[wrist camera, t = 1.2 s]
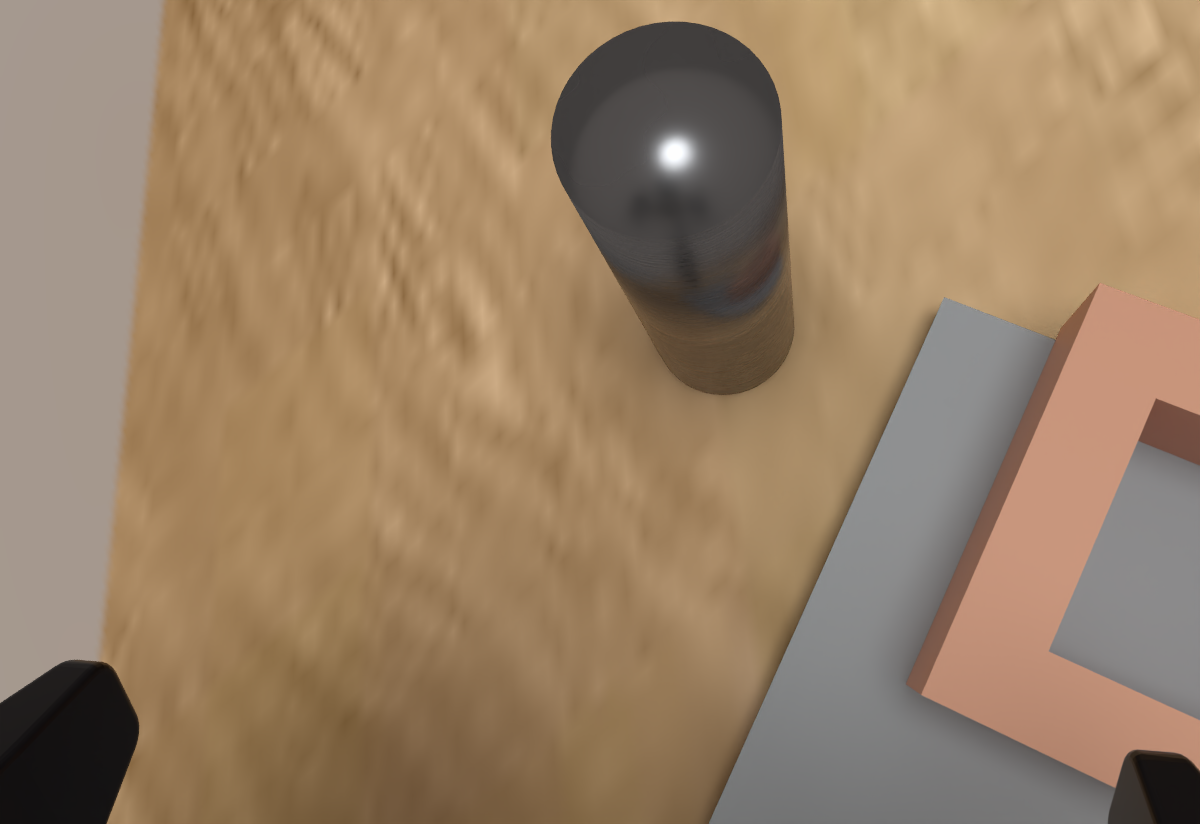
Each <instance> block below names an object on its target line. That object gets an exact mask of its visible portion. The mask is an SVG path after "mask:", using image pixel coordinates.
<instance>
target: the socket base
mask: <svg viewBox="0 0 1200 824" xmlns="http://www.w3.org/2000/svg"><path fill="white" fill-rule="evenodd" d="M1137 749H1139V750H1151V751H1163V752H1174V753H1178V754H1182V755H1183V756H1185V757H1187V758H1188V759H1189V760H1191V761H1192V762H1193V763H1194V764H1195V766H1196V767H1197V768H1198V769H1199V770H1200V320H1199V319H1197V318H1194V317H1191V316H1189V315H1186V314H1183V313H1180V312H1178V311H1175V310H1172V309H1169V308H1167V307H1164V306H1161V305H1159V304H1156V303H1153V302H1150V301H1148V300H1145V299H1142V298H1140V297H1137V296H1134V295H1131V294H1129V293H1126V292H1123V291H1120V290H1118V289H1115V288H1112V287H1110V286H1107V285H1104V284H1101V283H1100V284H1099V285H1098V286H1097V287H1096V288H1095V289H1094V290H1093V292H1092V293H1091V294H1090V295H1089V296H1088V297H1087V299H1086V300H1085V301H1084V302H1083V303H1082V304H1081V306H1080V307H1079V308H1078V309H1077V310H1076V311H1075V313H1074V314H1073V315H1072V316H1071V317H1070V318H1069V319H1068V321H1067V322H1066V323H1065V324H1064V325H1063V326H1062V328H1061V329H1060V331H1059V334H1058V336H1057V338H1056V340H1054V339H1052V338H1049V337H1046V336H1044V335H1041V334H1039V333H1036V332H1033V331H1031V330H1028V329H1026V328H1023V327H1020V326H1018V325H1015V324H1013V323H1010V322H1007V321H1005V320H1002V319H1000V318H997V317H994V316H992V315H989V314H986V313H984V312H981V311H979V310H976V309H973V308H971V307H968V306H966V305H963V304H960V303H958V302H955V301H953V300H950V299H947V298H945V297H944V299H943V301H942V303H941V306H940V308H939V310H938V312H937V315H936V317H935V319H934V321H933V324H932V326H931V328H930V330H929V332H928V335H927V337H926V339H925V341H924V344H923V346H922V348H921V350H920V353H919V355H918V357H917V359H916V362H915V364H914V366H913V368H912V370H911V373H910V375H909V377H908V379H907V382H906V384H905V386H904V388H903V391H902V393H901V395H900V397H899V399H898V402H897V404H896V406H895V408H894V411H893V413H892V415H891V417H890V420H889V422H888V424H887V426H886V429H885V431H884V433H883V435H882V437H881V440H880V442H879V444H878V446H877V449H876V451H875V453H874V455H873V458H872V460H871V462H870V464H869V467H868V469H867V471H866V473H865V475H864V478H863V480H862V482H861V484H860V487H859V489H858V491H857V493H856V496H855V498H854V500H853V502H852V505H851V507H850V509H849V511H848V513H847V516H846V518H845V520H844V522H843V525H842V527H841V529H840V531H839V534H838V536H837V538H836V540H835V542H834V545H833V547H832V549H831V551H830V554H829V556H828V558H827V560H826V563H825V565H824V567H823V569H822V572H821V574H820V576H819V578H818V580H817V583H816V585H815V587H814V589H813V592H812V594H811V596H810V598H809V601H808V603H807V605H806V607H805V610H804V612H803V614H802V616H801V618H800V621H799V623H798V625H797V627H796V630H795V632H794V634H793V636H792V639H791V641H790V643H789V645H788V648H787V650H786V652H785V654H784V656H783V659H782V661H781V663H780V665H779V668H778V670H777V672H776V674H775V677H774V679H773V681H772V683H771V686H770V688H769V690H768V692H767V694H766V697H765V699H764V701H763V703H762V706H761V708H760V710H759V712H758V715H757V717H756V719H755V721H754V723H753V726H752V728H751V730H750V732H749V735H748V737H747V739H746V741H745V744H744V746H743V748H742V750H741V753H740V755H739V757H738V759H737V761H736V764H735V766H734V768H733V770H732V773H731V775H730V777H729V779H728V782H727V784H726V786H725V788H724V791H723V793H722V795H721V797H720V799H719V802H718V804H717V806H716V808H715V811H714V813H713V815H712V817H711V820H710V822H709V824H1108V814H1109V809H1110V806H1111V802H1112V799H1113V795H1114V792H1115V788H1116V785H1117V781H1118V778H1119V774H1120V771H1121V767H1122V764H1123V761H1124V758H1125V756H1126V755H1127V754H1128V753H1129V752H1130V751H1132V750H1137Z"/></svg>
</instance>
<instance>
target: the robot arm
mask: <svg viewBox="0 0 1200 824" xmlns="http://www.w3.org/2000/svg"><path fill="white" fill-rule="evenodd" d="M138 736H139V721H138V717H137V714H136V712H135V710H134V708H133V706H132V704H131V702H130V700H129V698H128V696H127V694H126V692H125V690H124V688H123V686H122V684H121V682H120V679H119V677H118V675H117V673H116V672H115V670H114V669H113V668H112V667H111V666H110V665H108V664H107V663H104V662H96V661H84V660H69V661H65V662H63V663H60V664H59V665H57V666H55V667H54V668H52V669H51V670H49V671H48V672H46V673H45V674H43V675H42V676H40V677H39V678H37V679H36V680H34V681H33V682H32V683H30V684H28V685H27V686H25V687H24V688H22V689H21V690H19V691H18V692H16V693H15V694H13V695H12V696H10V697H9V698H7V699H6V700H4V701H3V702H1V703H0V824H107V821H108V818H109V816H110V813H111V811H112V808H113V805H114V803H115V800H116V797H117V795H118V792H119V790H120V787H121V784H122V782H123V779H124V777H125V774H126V771H127V769H128V766H129V763H130V761H131V758H132V756H133V753H134V750H135V748H136V745H137V741H138ZM1108 824H1200V770H1199V769H1198V768H1197V767H1196V766H1195V764H1194V763H1193V762H1192V761H1191V760H1189V759H1188V758H1187V757H1185V756H1183V755H1182V754H1178V753H1174V752H1163V751H1151V750H1139V749H1137V750H1132V751H1130V752H1129V753H1128V754H1127V755H1126V756H1125V758H1124V761H1123V764H1122V767H1121V771H1120V774H1119V778H1118V781H1117V785H1116V788H1115V792H1114V795H1113V799H1112V802H1111V806H1110V809H1109V814H1108Z"/></svg>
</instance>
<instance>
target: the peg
mask: <svg viewBox="0 0 1200 824" xmlns="http://www.w3.org/2000/svg"><path fill="white" fill-rule="evenodd" d="M551 148H552V155H553V161H554V164H555V168H556V171H557V174H558V176H559V179H560V181H561V183H562V185H563V187H564V189H565V191H566V192H567V194H568V196H569V198H570V199H571V201H572V203H573V205H574V206H575V208H576V210H577V211H578V213H579V215H580V217H581V218H582V220H583V222H584V224H585V225H586V227H587V229H588V230H589V232H590V234H591V236H592V237H593V239H594V241H595V243H596V244H597V246H598V248H599V250H600V251H601V253H602V255H603V256H604V258H605V260H606V262H607V263H608V265H609V267H610V269H611V270H612V272H613V274H614V276H615V277H616V279H617V281H618V282H619V284H620V286H621V288H622V289H623V291H624V293H625V295H626V296H627V298H628V300H629V302H630V303H631V305H632V307H633V308H634V310H635V312H636V314H637V315H638V317H639V319H640V321H641V322H642V324H643V326H644V328H645V329H646V331H647V333H648V334H649V336H650V338H651V340H652V341H653V343H654V345H655V347H656V348H657V350H658V352H659V353H660V355H661V357H662V359H663V360H664V362H665V364H666V365H667V367H668V368H669V369H670V370H671V372H672V373H673V374H674V375H675V376H676V377H677V378H678V379H679V380H681V381H682V382H684V383H685V384H687V385H688V386H690V387H692V388H694V389H696V390H699V391H702V392H706V393H710V394H719V395H726V394H735V393H740V392H744V391H747V390H750V389H752V388H754V387H756V386H758V385H760V384H761V383H763V382H765V381H766V380H767V379H768V378H770V377H771V376H772V375H773V374H774V373H775V372H776V371H777V370H778V369H779V367H780V366H781V364H782V363H783V362H784V360H785V358H786V356H787V354H788V352H789V350H790V347H791V344H792V340H793V334H794V316H793V299H792V283H791V266H790V250H789V234H788V217H787V201H786V184H785V168H784V151H783V135H782V118H781V108H780V103H779V97H778V94H777V91H776V88H775V85H774V83H773V81H772V79H771V77H770V75H769V73H768V71H767V70H766V68H765V67H764V65H763V64H762V63H761V61H760V60H759V59H758V58H757V57H756V56H755V54H754V53H753V52H752V51H751V50H750V49H749V48H747V47H746V46H745V45H743V44H742V43H741V42H740V41H738V40H737V39H735V38H733V37H732V36H730V35H728V34H726V33H724V32H722V31H719V30H717V29H715V28H712V27H708V26H705V25H701V24H696V23H689V22H662V23H654V24H649V25H645V26H641V27H638V28H635V29H632V30H629V31H626V32H624V33H622V34H620V35H618V36H616V37H614V38H612V39H611V40H609V41H608V42H606V43H605V44H603V45H601V46H600V47H599V48H597V49H596V50H595V51H594V52H593V53H591V54H590V55H589V56H588V57H587V58H586V59H585V60H584V61H583V62H582V63H581V64H580V65H579V66H578V68H577V69H576V70H575V72H574V73H573V74H572V76H571V77H570V78H569V80H568V82H567V84H566V85H565V87H564V89H563V91H562V93H561V95H560V98H559V100H558V103H557V105H556V109H555V113H554V116H553V122H552V130H551Z"/></svg>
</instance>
